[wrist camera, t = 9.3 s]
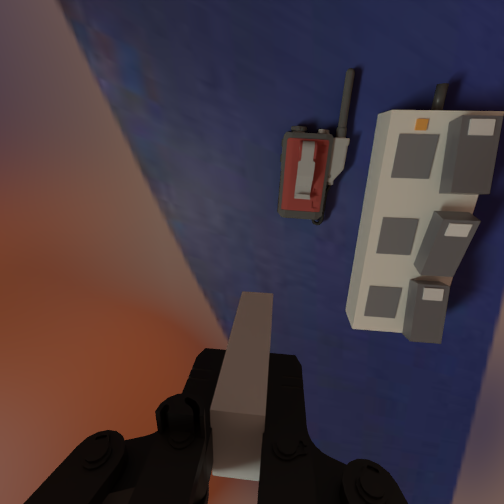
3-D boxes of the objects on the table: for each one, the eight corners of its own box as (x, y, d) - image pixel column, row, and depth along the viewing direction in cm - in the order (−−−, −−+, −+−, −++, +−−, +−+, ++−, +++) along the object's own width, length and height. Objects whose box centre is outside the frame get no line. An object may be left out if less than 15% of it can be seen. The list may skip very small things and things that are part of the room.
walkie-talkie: (332, 223, 43) (357, 71, 36) (338, 232, 39) (367, 61, 32) (275, 219, 44) (288, 68, 36) (274, 227, 39) (288, 59, 32)
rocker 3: (409, 279, 39) (418, 284, 37) (439, 281, 39) (451, 286, 36) (402, 333, 40) (410, 341, 38) (431, 335, 40) (441, 344, 38)
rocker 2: (434, 210, 34) (444, 220, 32) (469, 212, 34) (481, 221, 31) (413, 264, 38) (421, 276, 36) (444, 266, 38) (453, 278, 36)
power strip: (382, 88, 36) (398, 79, 31) (483, 88, 35) (516, 79, 30) (345, 310, 48) (352, 329, 43) (419, 316, 47) (435, 336, 42)
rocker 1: (449, 121, 32) (464, 114, 29) (486, 122, 32) (504, 114, 29) (438, 193, 33) (452, 192, 31) (474, 194, 33) (491, 193, 30)
